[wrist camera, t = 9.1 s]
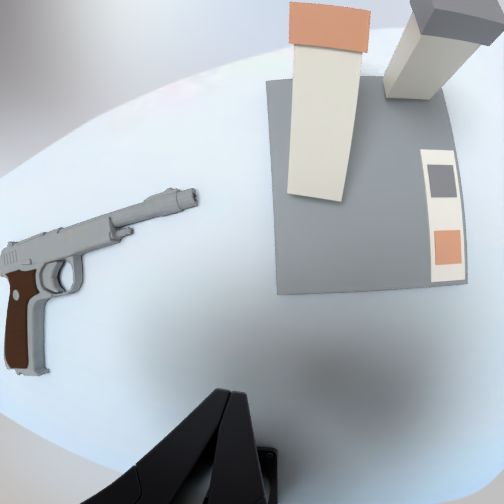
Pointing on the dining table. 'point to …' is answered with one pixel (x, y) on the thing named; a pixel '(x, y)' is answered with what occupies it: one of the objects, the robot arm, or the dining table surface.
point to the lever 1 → (324, 95)
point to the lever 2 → (439, 44)
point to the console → (373, 200)
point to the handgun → (48, 264)
